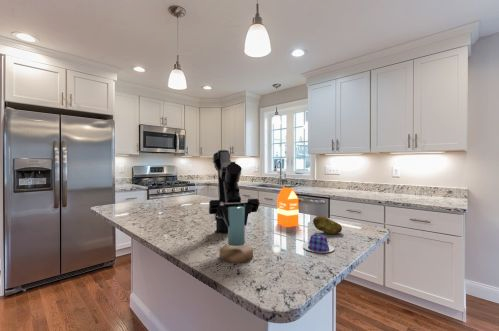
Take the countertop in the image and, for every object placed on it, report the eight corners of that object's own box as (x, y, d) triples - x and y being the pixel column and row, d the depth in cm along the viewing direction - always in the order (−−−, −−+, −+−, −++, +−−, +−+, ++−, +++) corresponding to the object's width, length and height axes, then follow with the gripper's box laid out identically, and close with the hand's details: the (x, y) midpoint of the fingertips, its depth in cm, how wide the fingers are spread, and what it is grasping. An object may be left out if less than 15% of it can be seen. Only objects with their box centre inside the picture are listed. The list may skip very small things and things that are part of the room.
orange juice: (287, 221, 143) (287, 186, 142) (298, 225, 135) (298, 188, 135) (277, 223, 139) (277, 187, 138) (287, 227, 131) (287, 189, 131)
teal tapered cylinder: (224, 242, 91) (224, 207, 91) (237, 239, 95) (237, 205, 95) (234, 247, 87) (234, 209, 86) (248, 243, 91) (248, 207, 90)
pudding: (338, 247, 101) (338, 234, 101) (328, 256, 91) (328, 242, 91) (309, 242, 108) (309, 230, 108) (298, 250, 98) (298, 236, 98)
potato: (340, 237, 114) (340, 219, 113) (311, 233, 119) (311, 216, 119) (342, 232, 121) (342, 216, 121) (315, 229, 127) (315, 213, 127)
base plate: (213, 260, 87) (213, 253, 87) (228, 248, 99) (228, 242, 98) (246, 265, 83) (246, 257, 83) (257, 252, 94) (257, 246, 94)
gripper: (250, 202, 108) (257, 235, 97) (206, 203, 103) (209, 238, 93) (255, 185, 100) (264, 219, 89) (208, 186, 95) (211, 222, 85)
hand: (237, 225), depth 89 cm, fingers closed on teal tapered cylinder, 6 cm apart
